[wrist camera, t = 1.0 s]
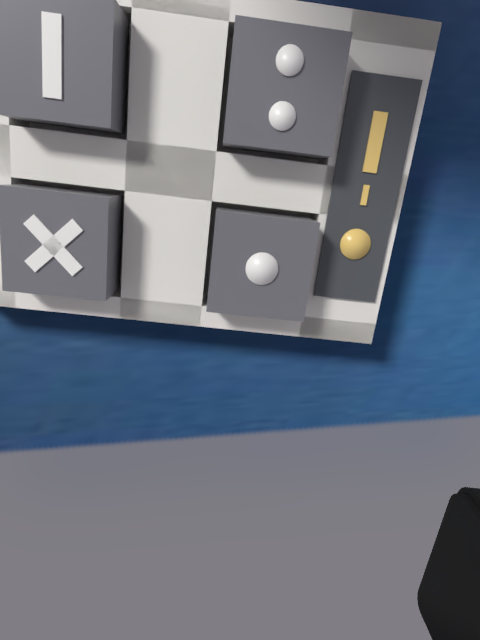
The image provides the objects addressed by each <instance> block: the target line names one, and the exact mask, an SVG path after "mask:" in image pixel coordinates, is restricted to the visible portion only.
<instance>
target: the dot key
mask: <svg viewBox="0 0 480 640" xmlns="http://www.w3.org/2000/svg"><path fill="white" fill-rule="evenodd" d="M319 228H320V222H318V221H315V220H313V219H311V218H309V217H301V216H293V215H284V214H276V213H267V212H259V211H251V210H242V209H234V208H225V207H217V209H216V217H215V227H214V237H213V247H212V258H211V268H210V278H209V288H208V298H207V308H206V312H213V313H223V314H232V315H242V316H252V317H261V318H271V319H281V320H290V321H300V322H304V317H305V311H306V305H307V299H308V294H309V288H310V282H311V276H312V270H313V264H314V258H315V252H316V246H317V240H318V234H319Z"/></svg>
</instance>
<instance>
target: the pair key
mask: <svg viewBox="0 0 480 640" xmlns="http://www.w3.org/2000/svg"><path fill="white" fill-rule="evenodd" d="M352 33H353V32H350V31H343V30H336V29H329V28H322V27H316V26H309V25H302V24H295V23H288V22H282V21H275V20H268V19H261V18H254V17H247V16H241V15H235V24H234V34H233V44H232V55H231V65H230V75H229V85H228V95H227V105H226V115H225V126H224V136H223V147H228V148H236V149H244V150H252V151H260V152H267V153H275V154H283V155H291V156H299V157H307V158H314V159H321V158H327V157H332V151H333V145H334V139H335V133H336V127H337V122H338V116H339V110H340V104H341V98H342V92H343V86H344V80H345V74H346V68H347V62H348V56H349V50H350V44H351V38H352Z"/></svg>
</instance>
